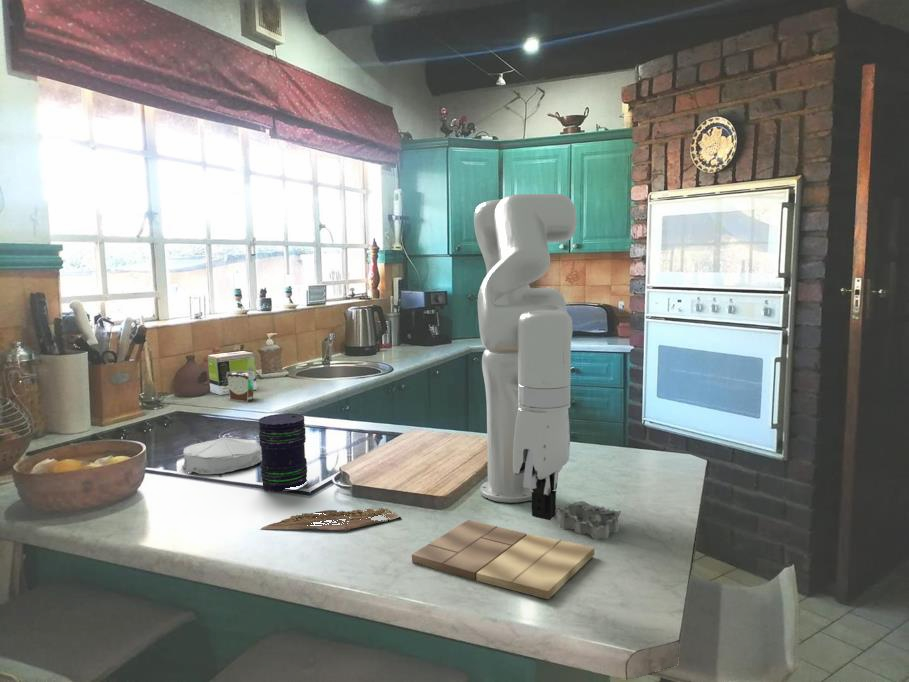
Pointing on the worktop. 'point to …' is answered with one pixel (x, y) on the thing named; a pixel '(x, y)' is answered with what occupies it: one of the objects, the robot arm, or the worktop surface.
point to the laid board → (467, 548)
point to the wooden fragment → (354, 520)
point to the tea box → (228, 369)
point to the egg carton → (588, 519)
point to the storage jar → (282, 451)
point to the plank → (536, 565)
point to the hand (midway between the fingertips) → (543, 516)
